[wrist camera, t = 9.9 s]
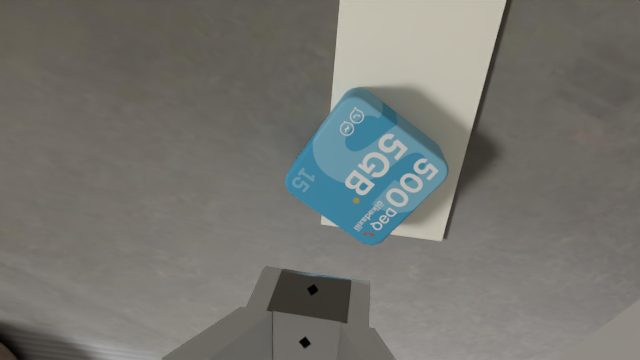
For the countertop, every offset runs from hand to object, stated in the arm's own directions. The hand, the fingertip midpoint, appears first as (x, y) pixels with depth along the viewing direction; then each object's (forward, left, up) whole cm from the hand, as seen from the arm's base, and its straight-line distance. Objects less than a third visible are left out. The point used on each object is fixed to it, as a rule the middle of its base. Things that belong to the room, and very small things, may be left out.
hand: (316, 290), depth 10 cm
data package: (+4, +4, -25) cm, 26 cm away
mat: (-4, +3, -28) cm, 29 cm away
